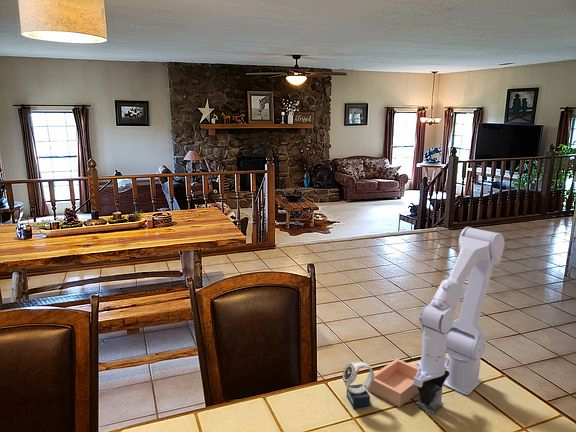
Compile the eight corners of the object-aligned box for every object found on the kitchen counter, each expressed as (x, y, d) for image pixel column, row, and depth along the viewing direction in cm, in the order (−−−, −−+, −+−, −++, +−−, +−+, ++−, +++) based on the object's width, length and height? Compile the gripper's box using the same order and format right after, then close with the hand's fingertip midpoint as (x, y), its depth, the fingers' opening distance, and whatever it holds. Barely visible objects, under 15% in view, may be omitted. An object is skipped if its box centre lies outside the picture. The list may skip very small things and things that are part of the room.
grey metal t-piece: (425, 397, 119) (426, 377, 118) (442, 406, 116) (444, 385, 114) (415, 406, 116) (417, 385, 114) (433, 415, 112) (435, 394, 111)
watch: (339, 397, 119) (340, 359, 117) (368, 393, 121) (369, 356, 119) (346, 410, 114) (347, 371, 112) (376, 406, 116) (378, 368, 113)
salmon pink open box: (396, 370, 132) (396, 358, 131) (427, 385, 125) (428, 372, 124) (367, 390, 122) (368, 377, 121) (399, 407, 115) (400, 393, 114)
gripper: (433, 336, 120) (429, 381, 123) (403, 356, 110) (400, 404, 113) (458, 345, 115) (454, 392, 118) (430, 367, 105) (426, 418, 108)
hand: (429, 399), depth 115 cm, fingers open, 4 cm apart
